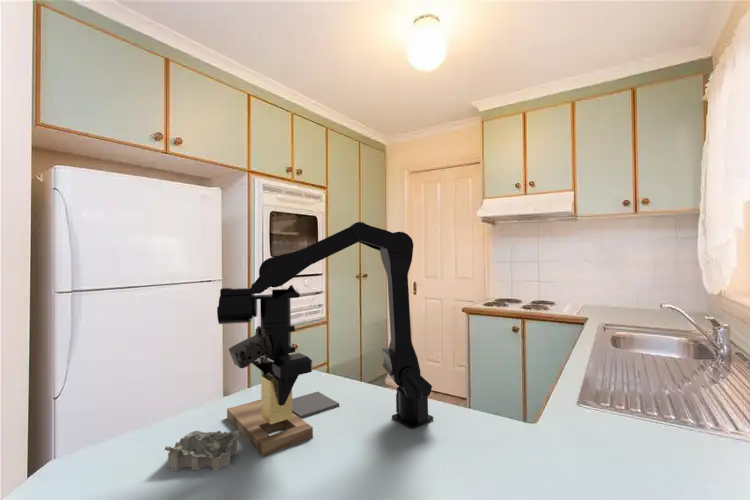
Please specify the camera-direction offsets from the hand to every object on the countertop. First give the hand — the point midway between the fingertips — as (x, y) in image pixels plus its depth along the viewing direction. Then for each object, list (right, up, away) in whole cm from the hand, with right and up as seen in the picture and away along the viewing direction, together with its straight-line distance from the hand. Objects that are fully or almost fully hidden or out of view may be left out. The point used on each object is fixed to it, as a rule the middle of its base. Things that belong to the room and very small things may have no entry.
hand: (276, 401), depth 71 cm
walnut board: (-3, -7, +4) cm, 8 cm away
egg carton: (-11, -7, -7) cm, 15 cm away
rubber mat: (+4, -7, +14) cm, 16 cm away
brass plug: (0, -3, 0) cm, 3 cm away
